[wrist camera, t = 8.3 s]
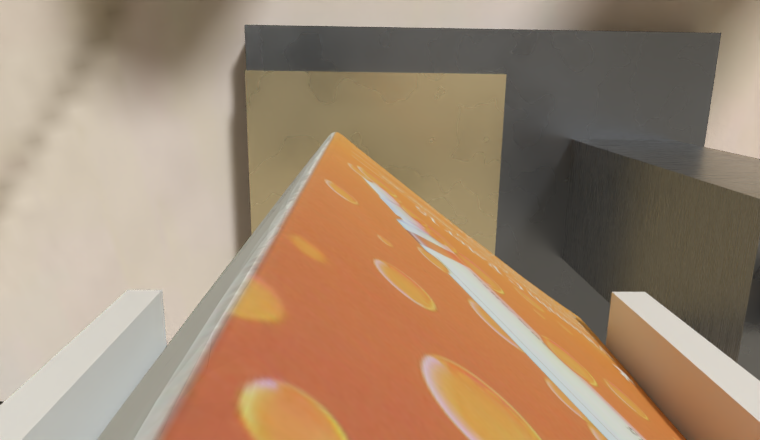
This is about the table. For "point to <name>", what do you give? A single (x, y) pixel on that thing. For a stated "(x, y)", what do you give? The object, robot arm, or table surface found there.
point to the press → (534, 155)
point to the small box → (379, 334)
